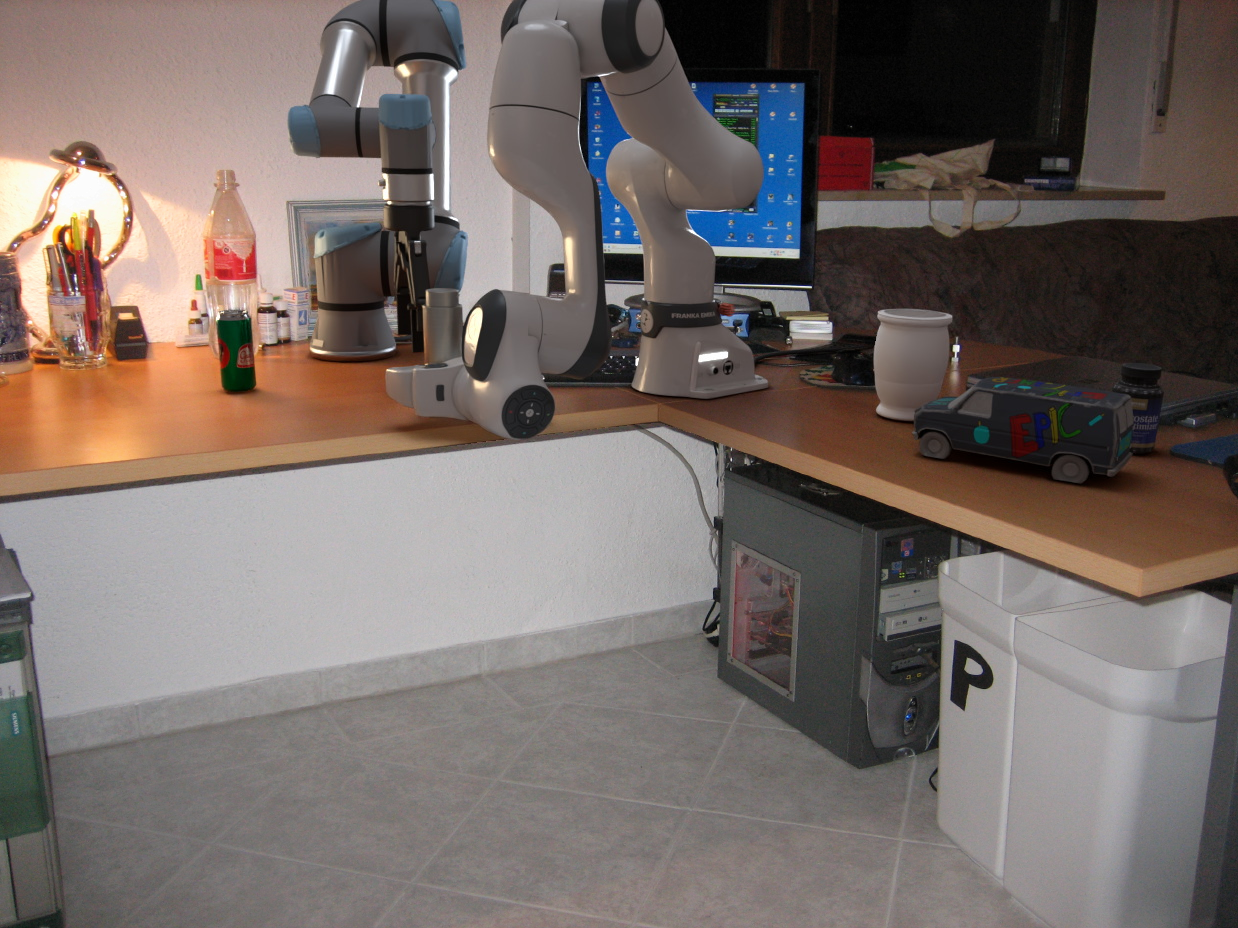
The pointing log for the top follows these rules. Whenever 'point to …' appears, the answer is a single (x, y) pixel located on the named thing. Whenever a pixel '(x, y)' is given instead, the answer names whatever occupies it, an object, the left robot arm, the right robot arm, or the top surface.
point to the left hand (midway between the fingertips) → (413, 343)
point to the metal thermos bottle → (442, 325)
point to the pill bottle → (1142, 402)
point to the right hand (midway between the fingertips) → (441, 368)
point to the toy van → (1032, 426)
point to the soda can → (236, 350)
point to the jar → (910, 360)
